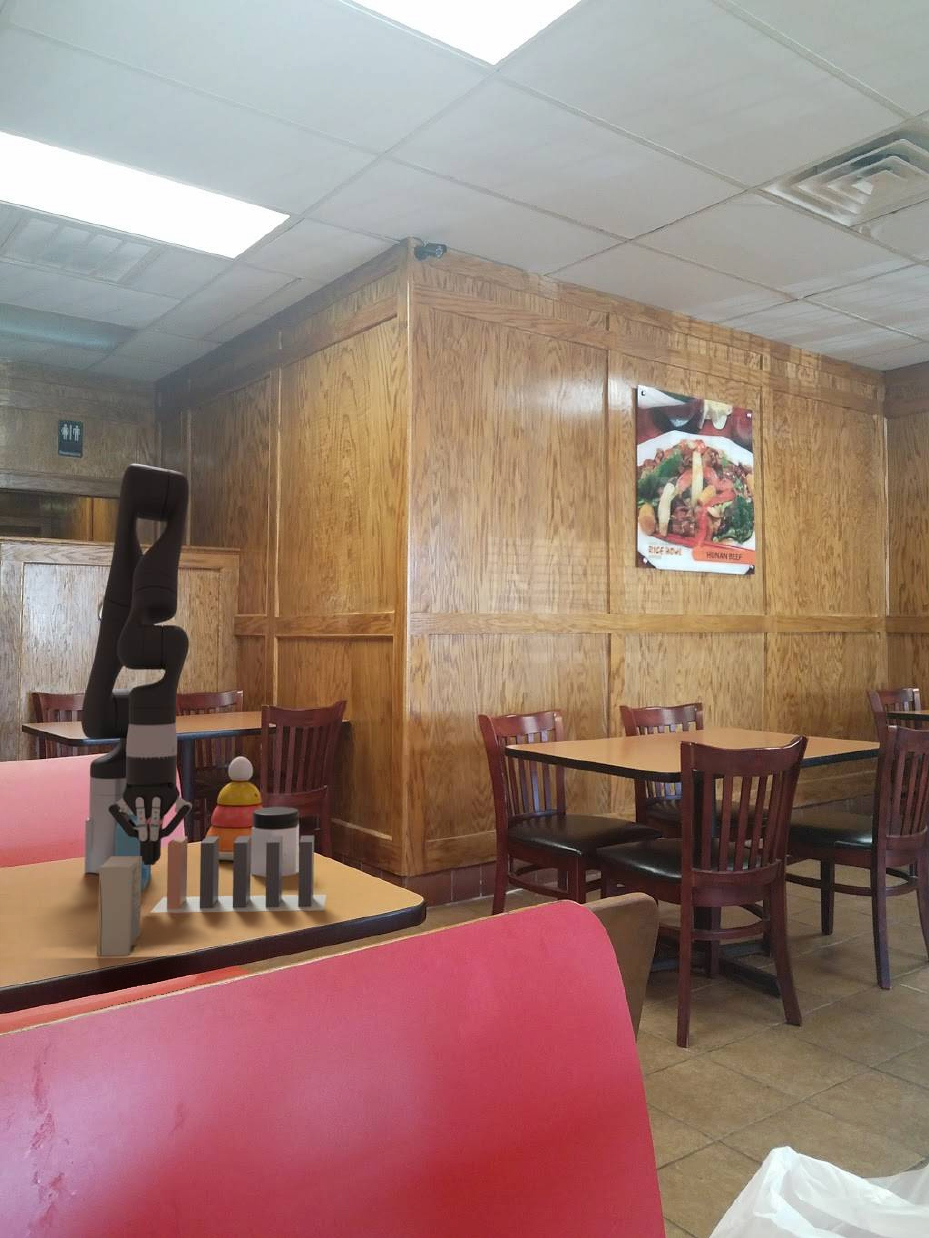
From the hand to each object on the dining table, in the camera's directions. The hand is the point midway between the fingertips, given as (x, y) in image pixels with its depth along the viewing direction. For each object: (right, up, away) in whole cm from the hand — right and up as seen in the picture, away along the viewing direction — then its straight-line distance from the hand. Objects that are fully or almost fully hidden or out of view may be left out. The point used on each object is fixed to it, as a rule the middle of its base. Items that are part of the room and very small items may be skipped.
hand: (150, 863), depth 150 cm
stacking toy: (+4, -9, +39) cm, 41 cm away
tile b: (+9, -7, +1) cm, 11 cm away
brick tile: (+4, -6, 0) cm, 8 cm away
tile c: (+14, -7, +1) cm, 15 cm away
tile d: (+19, -7, +2) cm, 20 cm away
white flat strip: (+14, -8, +1) cm, 16 cm away
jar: (+15, -8, +22) cm, 28 cm away
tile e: (+24, -7, +2) cm, 25 cm away
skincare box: (+2, -7, -18) cm, 20 cm away
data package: (-7, -8, +13) cm, 17 cm away
